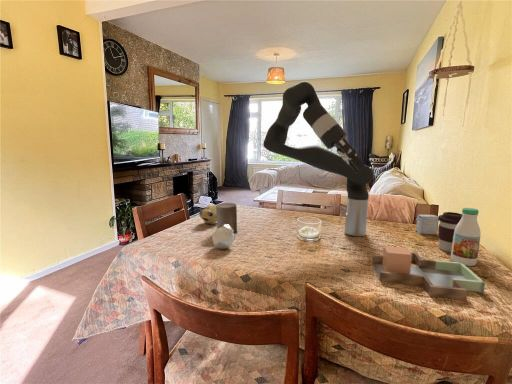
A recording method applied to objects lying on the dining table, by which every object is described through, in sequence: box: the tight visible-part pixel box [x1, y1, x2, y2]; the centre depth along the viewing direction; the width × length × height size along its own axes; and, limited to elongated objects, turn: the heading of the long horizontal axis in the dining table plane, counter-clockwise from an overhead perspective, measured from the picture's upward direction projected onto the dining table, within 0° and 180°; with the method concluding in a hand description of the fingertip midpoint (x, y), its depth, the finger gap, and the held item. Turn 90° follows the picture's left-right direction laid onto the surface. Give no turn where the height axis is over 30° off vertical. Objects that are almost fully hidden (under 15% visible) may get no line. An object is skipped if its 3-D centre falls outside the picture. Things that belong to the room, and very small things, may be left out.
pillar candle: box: [215, 202, 238, 235], centre depth 134 cm, size 10×10×15 cm
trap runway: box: [371, 251, 484, 301], centre depth 91 cm, size 28×26×4 cm
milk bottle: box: [450, 207, 482, 267], centre depth 101 cm, size 8×8×20 cm
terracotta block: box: [382, 245, 412, 274], centre depth 92 cm, size 7×6×8 cm
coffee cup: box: [437, 211, 462, 253], centre depth 113 cm, size 10×10×15 cm
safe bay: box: [435, 259, 486, 294], centre depth 89 cm, size 8×14×4 cm, turn 167°
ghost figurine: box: [212, 224, 236, 250], centre depth 115 cm, size 9×9×10 cm
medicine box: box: [415, 214, 440, 235], centre depth 134 cm, size 8×4×9 cm, turn 84°
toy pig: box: [198, 203, 217, 225], centre depth 149 cm, size 10×12×11 cm
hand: (360, 169), depth 89 cm, fingers open, 8 cm apart
